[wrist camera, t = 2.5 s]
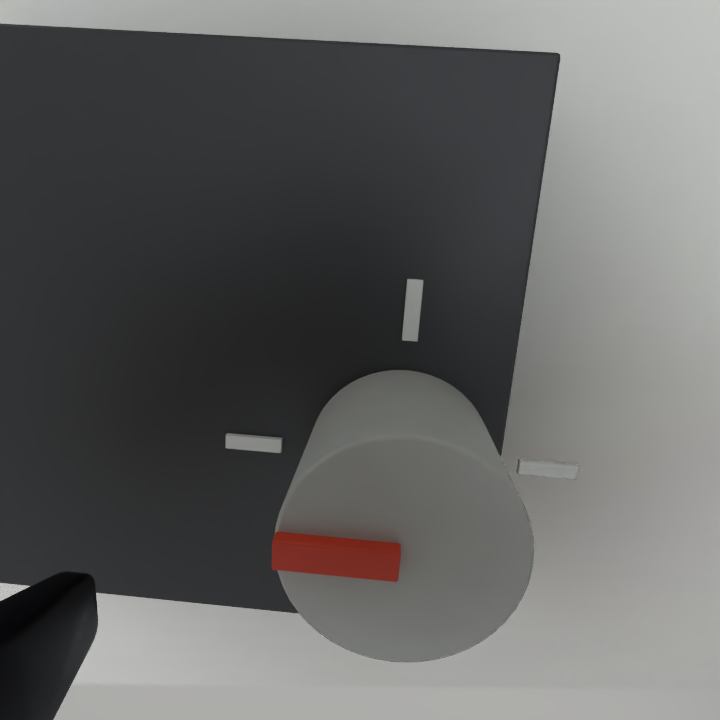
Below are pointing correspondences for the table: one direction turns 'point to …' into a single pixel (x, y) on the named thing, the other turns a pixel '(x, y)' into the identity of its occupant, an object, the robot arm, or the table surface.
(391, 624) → the timer knob
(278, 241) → the console
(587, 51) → the table surface
